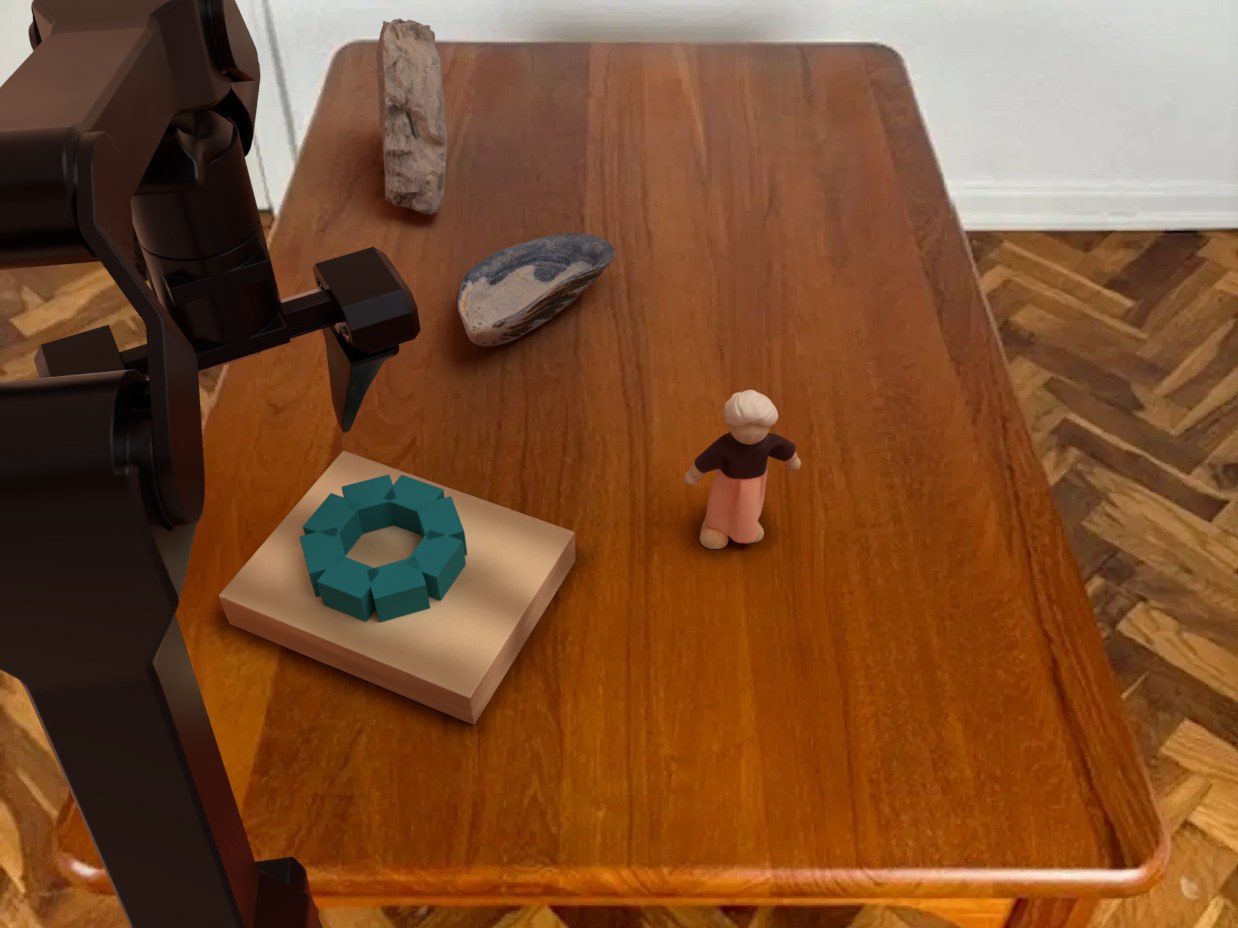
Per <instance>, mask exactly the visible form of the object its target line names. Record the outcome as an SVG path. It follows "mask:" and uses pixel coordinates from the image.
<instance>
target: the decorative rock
mask: <svg viewBox="0 0 1238 928" xmlns="http://www.w3.org/2000/svg"><path fill="white" fill-rule="evenodd" d="M375 60H376V63H377V67H376V76H377V87H378V110H379V128H380V136H381V143H382V161H383V168H384V200H385V201H386V202H387V203H391V204H392V205H393V206H395V207H400V208H407V209H411V210H413V211H415V212H418V213H421V214H423V215H431V216H435V215H436V214H437V213H438V212H440V210H442V207H443V204H444V198H445V188H446V187H445V186H446V171H447V157H448V156H447V155H448V130H447V126H446V99H445V89H444V76H443V75H444V73H443V65H442V57H441V54H440V49H439V48H438V46H437V44H436V33H435V32H434V31H433V30H431V25H430V24H422V23H420V22H418V21H416V20H412V19H407V20H403V19H402V18H395V19H392V20H391V21H390V22H389V21H386V20H383V21H382V26H381V29H380V33H379V39H378V43H377V49H376V54H375Z"/></svg>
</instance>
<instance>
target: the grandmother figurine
mask: <svg viewBox="0 0 1238 928" xmlns="http://www.w3.org/2000/svg"><path fill="white" fill-rule="evenodd" d="M778 419H779V413H778V410H777V408H776V405H774V403H773V402H772V401H771V399H770V398H769V397H768V396H766V395H764V394H763V393H761V392H758V391H756V390H754V389H747V390H744V391H740V392H739V391H738V392H735V393H733V394H732V395H731V397H730V398H729V399H728V400H727V401H726V402H725V404H724V421H725V423H726V424H727V425H728V429H729V432H726V433H724V434H722V435H721V436H720V437H719V438H718V439H716V440H715V441H714V442H712V443H711V445H709V446H708V447H707V448H705V449H704V450H703V451H702V452H701V453H700V454H699V455H698V456H697V457H695V458H694V461H693V463H692V465H691V466H690V468H689V470H688V471H687V472H686V473H685V474H684V476H683V480H684V483H685V484H686V485H687V486H688V487H689V486H690V487H694V486H696V485H698V483H699V482H700V479H703V478H704V476H705V475H706V474H707V473H708V472H712V471H716V472H715V476H714V479H713V483H712V485H711V489H710V492H709V495H708V499H707V506H706V513H705V517H704V521H703V522H702V525H701V529H700V533H699V542H700V544H701V545H702V546H703V547H705V548H707V549H710V550H720V549H723V548H725V547H726V546H727V544H728V543H729V538H730V539H731V540H732V541H734V542H735V543H739V544H755V543H758V542H760V541H762V540H763V538H764V536H765V532H764V528H763V527H762V525H761V523H759V518H760V517H761V515H762V511H763V507H764V506H763V505H764V501H765V495H766V487H767V486H766V485H767V480H768V479H767V478H768V472H769V471H768V461H769V457H770V458H772V459H775V460H778V461H781V462H783V463H784V466H785V468H786V470H788V471H790V472H796V471H798V470H800V468H801V465H802V462H801V459H800V458H799V457H798V454H797V452H796V451H797V445H796V444H795V442H793V441H791V440H788V439H787V438H786V437H784V436H782V435H780V434H776V433H772V432H769V431H770V428H771V427H772V426H774V425H775V424H776V423H777V422H778Z"/></svg>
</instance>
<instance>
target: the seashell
mask: <svg viewBox="0 0 1238 928" xmlns="http://www.w3.org/2000/svg"><path fill="white" fill-rule="evenodd" d="M615 256H616V249H615V246H614V245H613V244H612V243H611V242H609V240H607V239H604V238H602V237H600V236H597V235H594V234H589V233H588V234H587V233H569V232H567V233H557V234H556V233H555V234H550V235H546V236H544V237H540V238H536V239H532V240H528V241H525V242H522V243H518V244H514V245H512V246H509V247H506V248H504V249H500V250H498V251H495V252H494V253H493V254H491V255H489V256H487V257H485V258H484V259H482V260H481V261H479V262H478V263H476V264H475V265H474V266H473V267H471V269H470V270H469V271H468V272H466V274H465V275H464V276H463V279H462V281H461V283H460V286H459V292H458V294H457V295H458V296H457V301H456V302H457V311H458V313H459V317H460V318H461V321H462V325H463V327H464V331H465V334H466V335H467V337H468V339H469V340H470V342H471V343H473V344H475V345H477V346H479V347H493V346H500V345H504V344H508V343H510V342H513V341H515V340H518V339H519V338H522V337H523V336H524V335H526V334H527V333H530V332H531V331H533V330H535V329H536V328H539V327H540V326H542V325H544V324H545V323H547V322H549V321H550V320H551V319H553V318H554V317H555V316H556V315H558V314H559V313H560V312H561V311H563V310H564V309H565V308H567V307H568V306H569V305H571V304H572V303H573V302H574V301H575V300H577V299H578V298H579V297H580V296H581V294H583V292H584V291H585V290H586V289H588V288H589V287H591V285H592V284H593V283H595V281H596V280H598V278H599V277H600V276H602V274H603V272H604V271H605V270H606V268H608V266H609V265H610V264H611V263H612V262H613V260H614V258H615Z"/></svg>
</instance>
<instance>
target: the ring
mask: <svg viewBox="0 0 1238 928" xmlns="http://www.w3.org/2000/svg"><path fill="white" fill-rule="evenodd" d="M342 492H343V496H344V497H341V496H338V495H336V494H333V493H330V494H329V496H328V497H327V498H326V499H325V500H324V502H323V503H322V504H321V505H320V506H319V507H318V509H317V510H316V511H315V512H314V513H313V515H312V516H311V517H310V518H309V519H308V521H307V522H306V523H305V524H304V525H303V530H304V534H305V535H303V536H300V541H301V545H302V549H303V553H304V557H305V561H306V565H307V569H308V573H309V576H310V580H311V583H312V587H313V590H314V593H315V596H316V597H319V596H321V598H322V601H323V604H324V605H325V606H328V607H330V608H333V609H335V610H338V611H340V612H343V613H345V614H348V615H350V616H353V617H355V618H358V619H360V620H363V621H365V622H367V621H368V619H369V618H370V617H371V615H372V614H373V613H374V611H375V610H376V612H377V615H378V619H379V622H384V621H387V620H391V619H394V618H398V617H401V616H405V615H408V614H412V613H415V612H419V611H422V610H425V609H429V608H430V603H429V597H432V598H434V599H437V600H440V601H441V600H442V599H443V597H444V596H445V594H446V593H447V591H448V590H449V588H450V587H451V586H452V584H453V583H454V581H455V580H456V578H457V577H458V576H459V574H460V573H461V571H462V570H463V568H464V567H465V565H466V561H465V555H467V547H466V539H465V532H464V529H463V526H462V523H461V521H460V518H459V515H458V513H457V510H456V507H455V505H454V502H453V499H452V497H451V496H449V497H446V498H445V496H444V490H443V489H441V488H439V487H436V486H433V485H430V484H427V483H424V482H422V481H419V480H416V479H413V478H410V477H407V476H405V475H401V476H400V477H399V478H398V480H397V481H396V482H395V483H394V485H393V483H392V480H391V477H390V475H389V474H388V475H384V476H380V477H377V478H373V479H369V480H365V481H361V482H357V483H353V484H350V485H346V486H342ZM390 526H397V527H400V528H403V529H405V530H408V531H411V532H413V533H416V534H419V535H421V536H422V540H421V541H420V543H419V544H418V545H417V547H416V548H415V549H414V551H413V552H412V553H411V555H410V556H409V558H407V559H404V560H400V561H396V562H393V563H389V564H386V565H382V566H378V567H375V568H373V567H371V566H368V565H366V564H363V563H360V562H358V561H355V560H352V559H350V558H347V557H346V555H347V553H348V552H349V551H350V550H351V548H352V547H353V546H354V544H355V543H356V542H357V541H358V539H359V538H360V537H361V536H362V534H364V533H368V532H371V531H375V530H379V529H383V528H386V527H390ZM428 596H429V597H428Z"/></svg>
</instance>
